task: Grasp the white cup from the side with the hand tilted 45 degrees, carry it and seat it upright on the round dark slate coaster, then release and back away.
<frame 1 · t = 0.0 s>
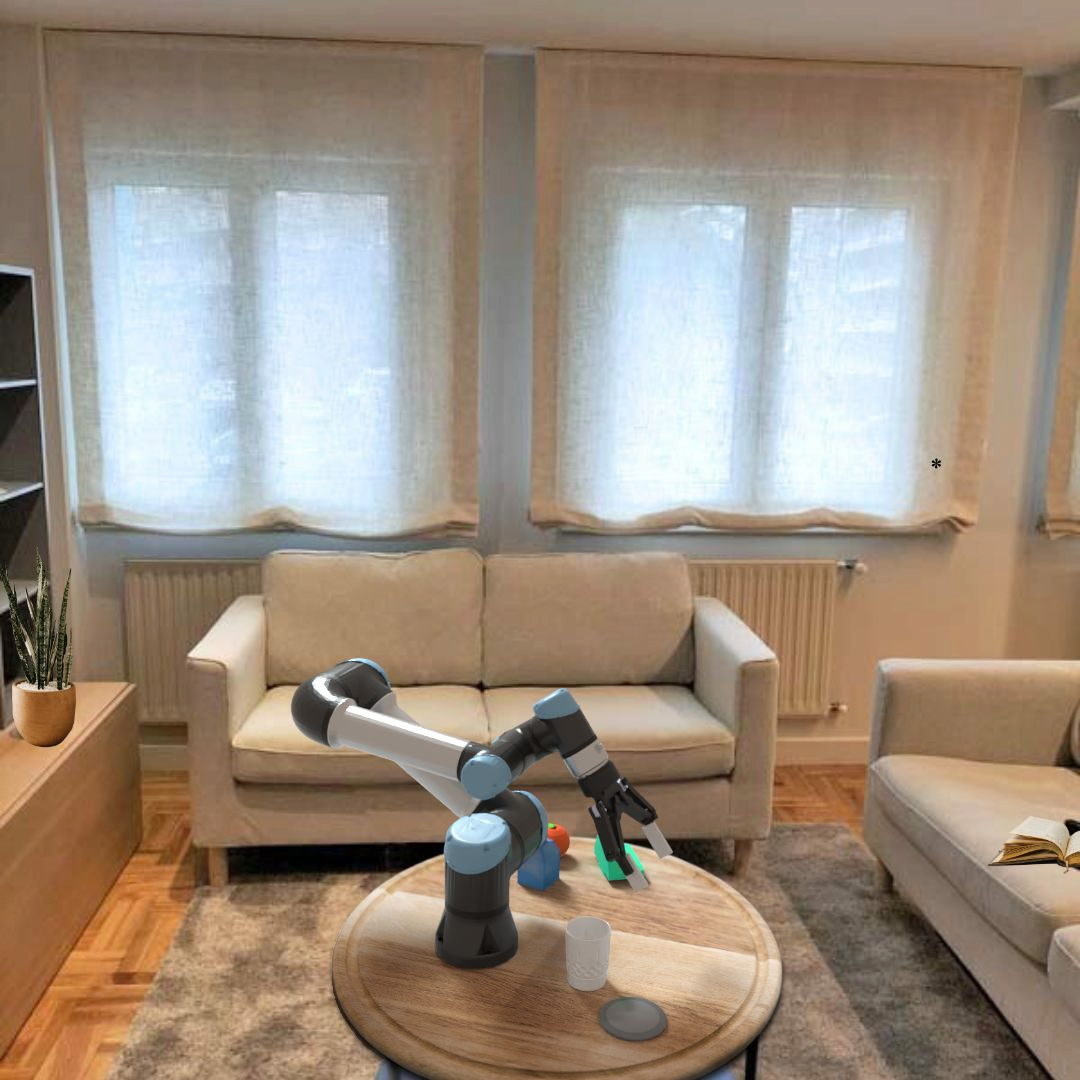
hand: (654, 871, 204), 15 cm above the table, tool tilted 35°, fingers open, 13 cm apart
camera mount: (618, 870, 236), on the table
perfume bottle: (538, 881, 231), on the table
coaster: (632, 1019, 186), on the table
white cup: (586, 981, 197), on the table
clementine: (551, 856, 242), on the table
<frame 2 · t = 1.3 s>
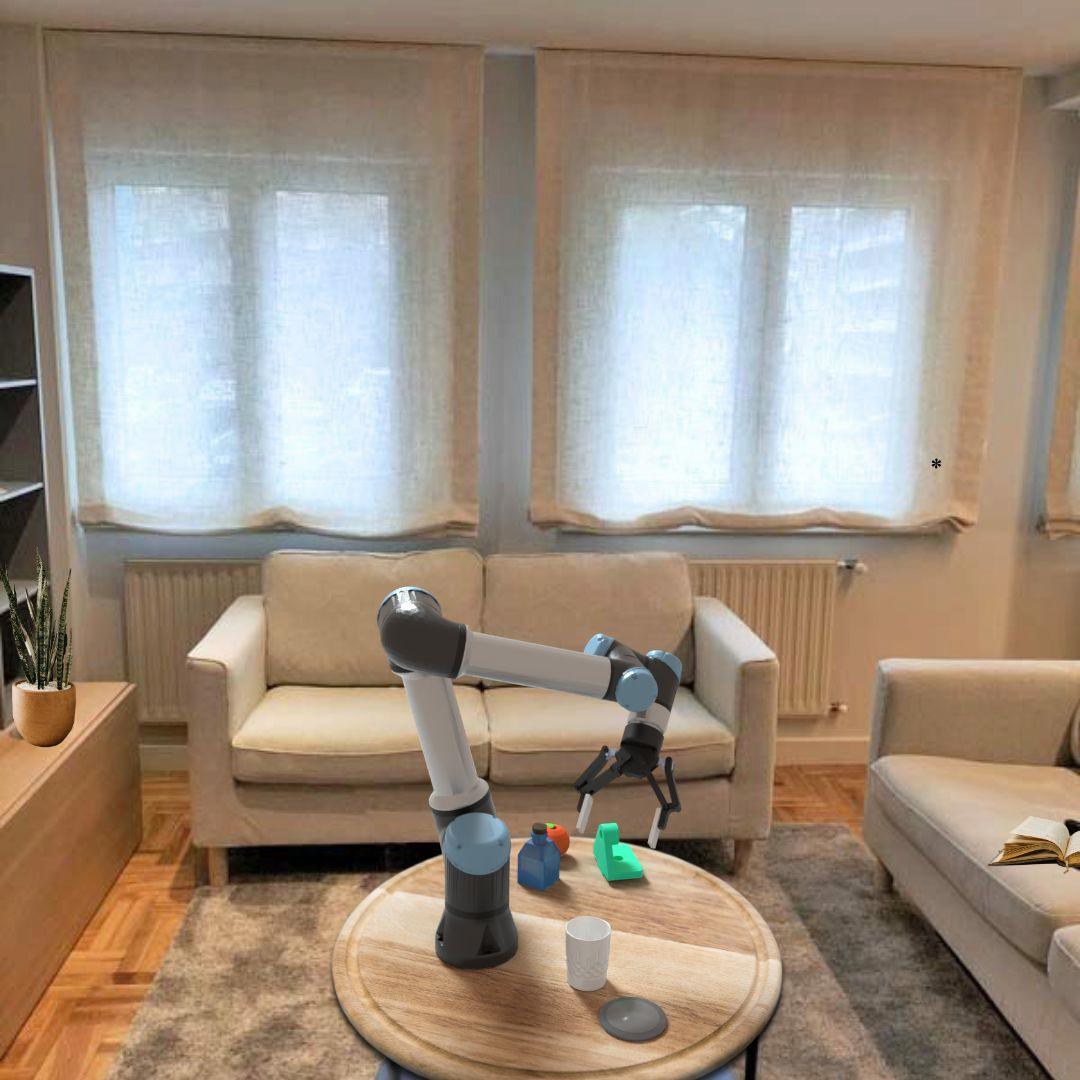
hand: (615, 838, 202), 22 cm above the table, tool tilted 45°, fingers open, 13 cm apart
nothing on the table moved.
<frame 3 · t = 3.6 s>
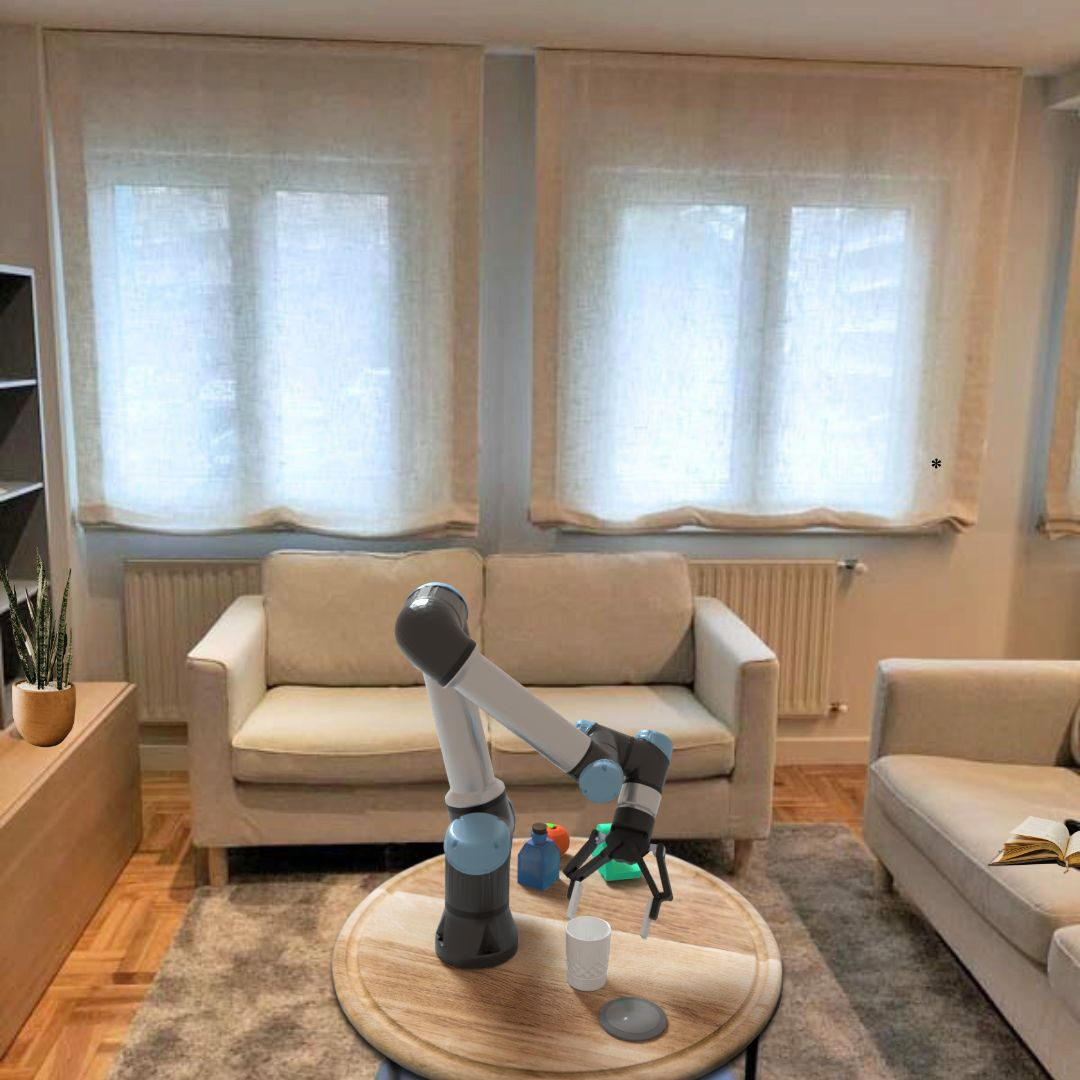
hand: (605, 928, 198), 8 cm above the table, tool tilted 45°, fingers open, 13 cm apart
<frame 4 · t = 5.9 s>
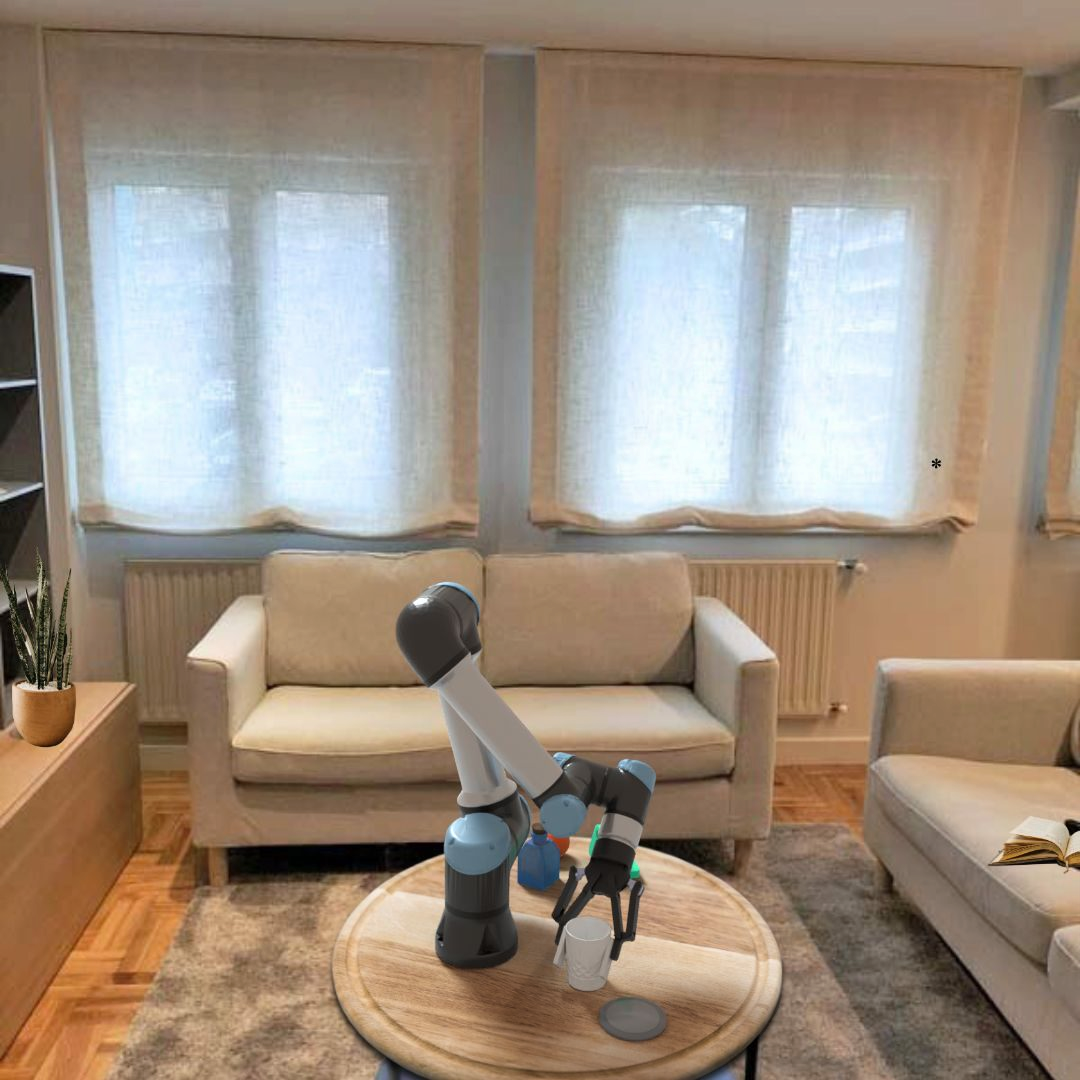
hand: (579, 971, 193), 4 cm above the table, tool tilted 45°, fingers closed on white cup, 8 cm apart
white cup: (586, 981, 197), on the table, touching gripper
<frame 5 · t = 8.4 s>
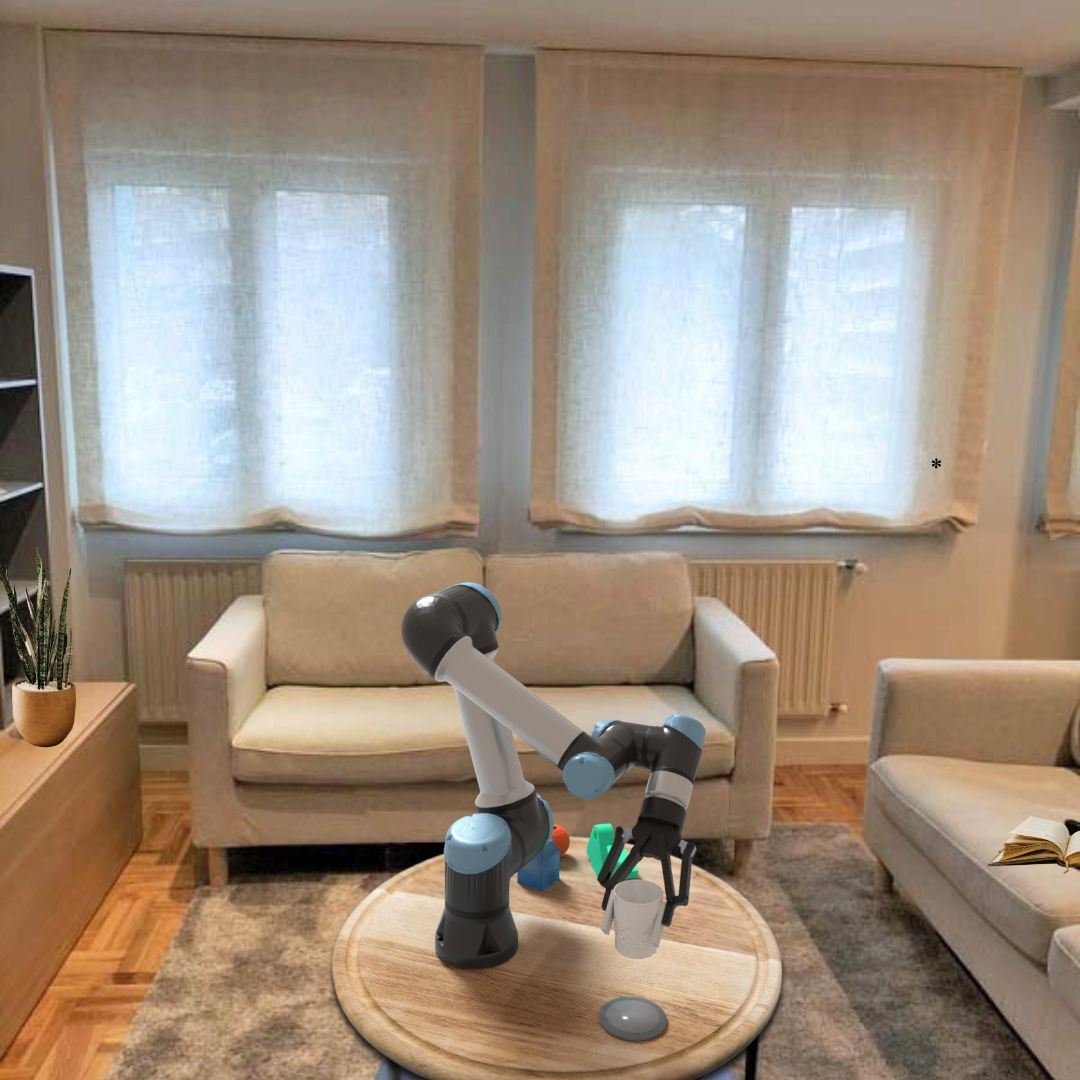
hand: (629, 938, 180), 17 cm above the table, tool tilted 45°, fingers closed on white cup, 8 cm apart
white cup: (635, 949, 184), point 13 cm above the table, touching gripper
when the fingers open (6 cm above the table, at t = 11.3 s): white cup drops 1 cm, resting on coaster.
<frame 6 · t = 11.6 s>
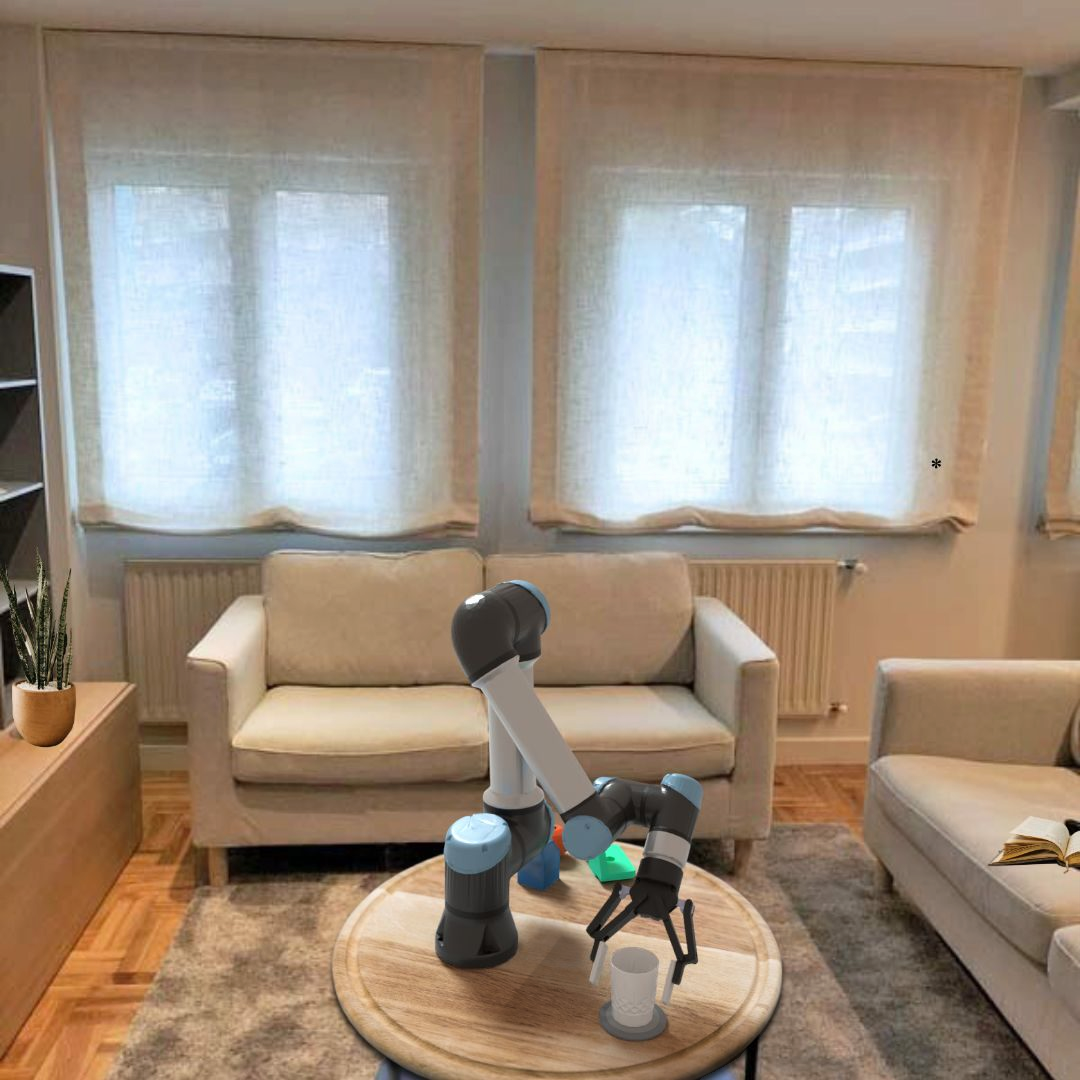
hand: (628, 993, 183), 6 cm above the table, tool tilted 45°, fingers open, 11 cm apart
white cup: (632, 1016, 186), point 1 cm above the table, touching coaster
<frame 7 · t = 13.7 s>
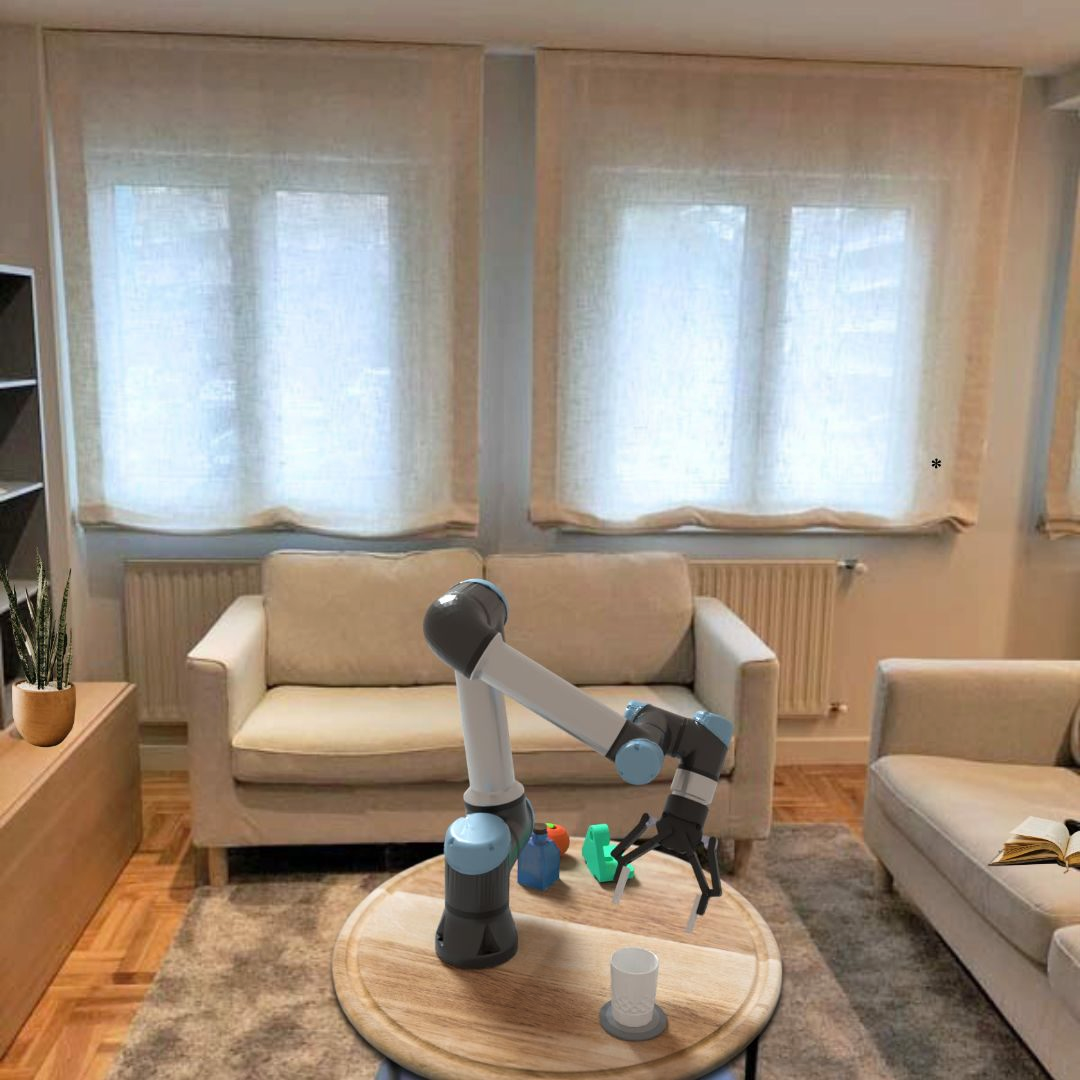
hand: (651, 918, 196), 12 cm above the table, tool tilted 30°, fingers open, 13 cm apart
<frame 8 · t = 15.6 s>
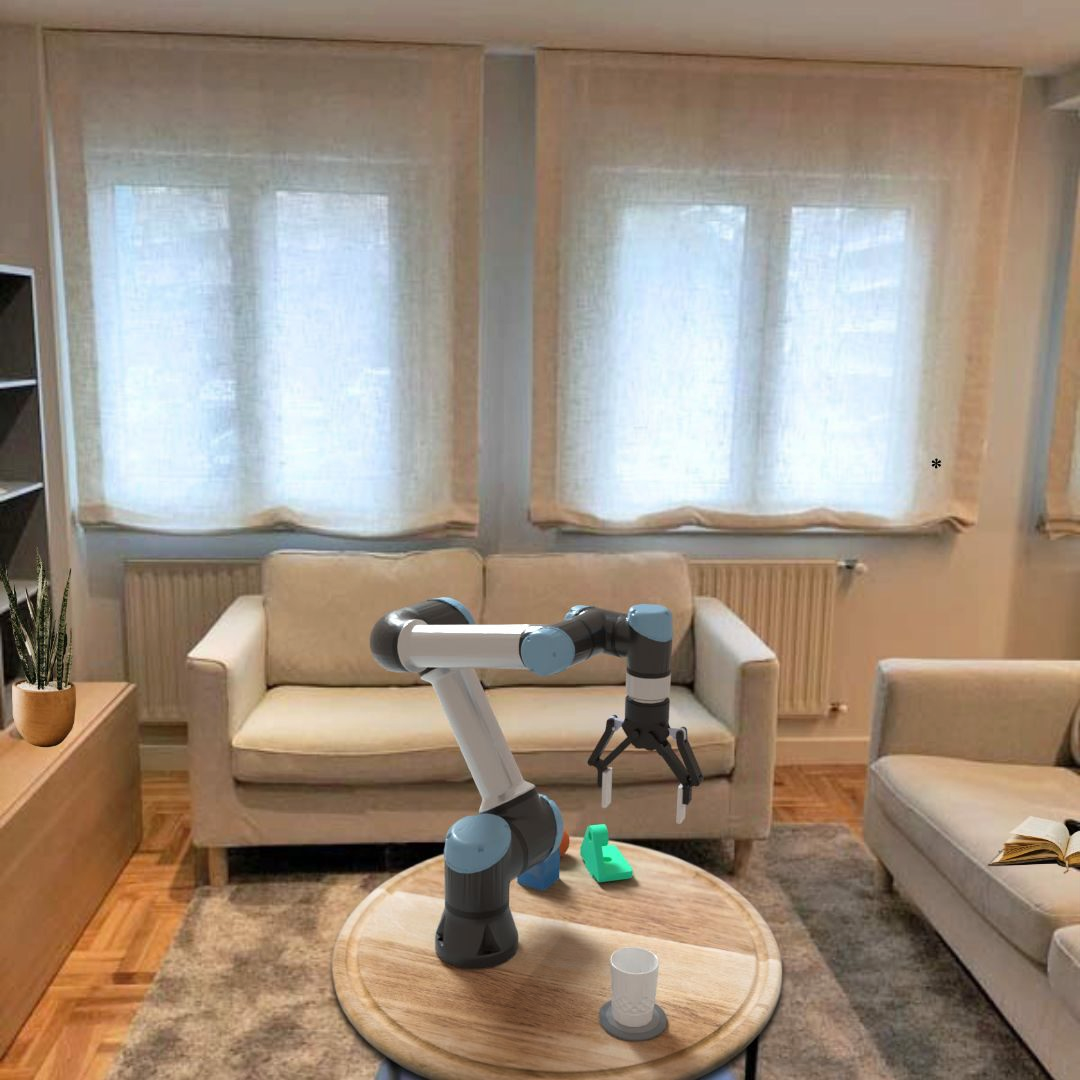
hand: (642, 812, 197), 29 cm above the table, tool pointing down, fingers open, 13 cm apart
at the end: white cup 0.2 cm from the coaster (horizontally); white cup tilted 0°; white cup touching coaster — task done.
